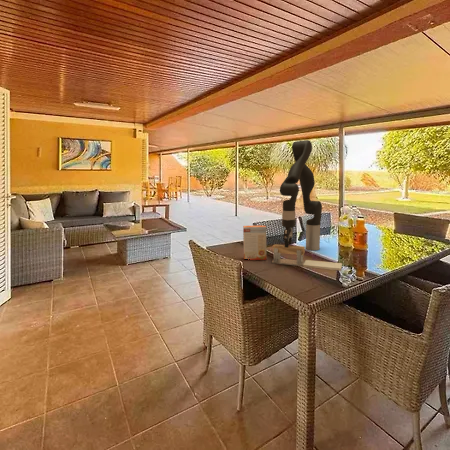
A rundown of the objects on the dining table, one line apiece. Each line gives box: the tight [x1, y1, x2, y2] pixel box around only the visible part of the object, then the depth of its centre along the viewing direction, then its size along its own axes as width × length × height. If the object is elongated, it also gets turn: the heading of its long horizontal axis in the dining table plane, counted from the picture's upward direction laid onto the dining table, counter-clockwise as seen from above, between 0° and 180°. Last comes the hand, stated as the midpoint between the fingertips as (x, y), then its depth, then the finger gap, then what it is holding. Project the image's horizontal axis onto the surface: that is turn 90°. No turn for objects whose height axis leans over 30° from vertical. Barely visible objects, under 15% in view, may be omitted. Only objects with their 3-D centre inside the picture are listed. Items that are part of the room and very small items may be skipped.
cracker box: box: [242, 225, 267, 261], centre depth 185 cm, size 14×6×21 cm, turn 86°
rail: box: [272, 244, 306, 256], centre depth 177 cm, size 4×18×4 cm, turn 66°
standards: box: [271, 248, 306, 267], centre depth 177 cm, size 8×18×9 cm, turn 66°
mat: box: [302, 259, 343, 271], centre depth 170 cm, size 10×20×1 cm, turn 66°
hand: (288, 245), depth 176 cm, fingers open, 8 cm apart
